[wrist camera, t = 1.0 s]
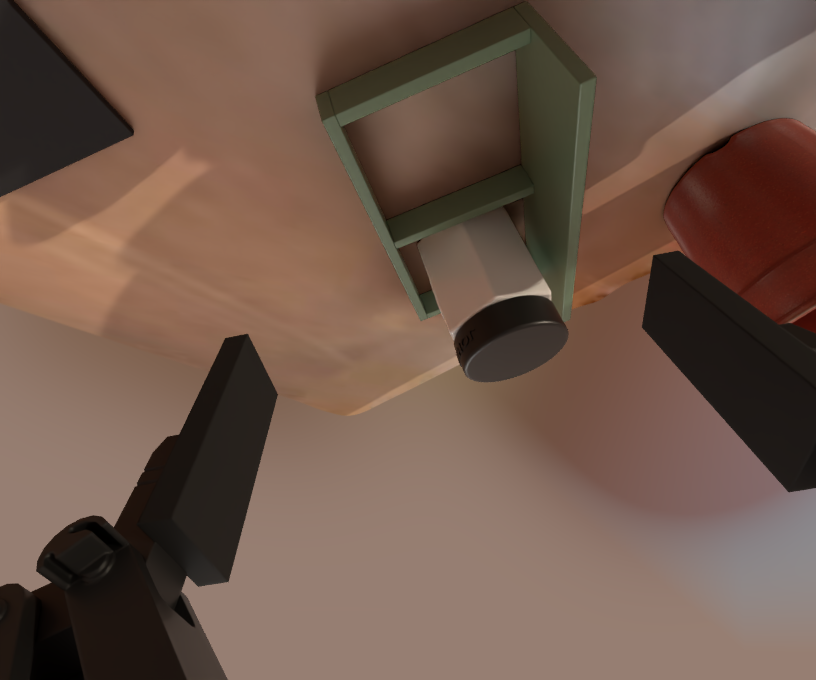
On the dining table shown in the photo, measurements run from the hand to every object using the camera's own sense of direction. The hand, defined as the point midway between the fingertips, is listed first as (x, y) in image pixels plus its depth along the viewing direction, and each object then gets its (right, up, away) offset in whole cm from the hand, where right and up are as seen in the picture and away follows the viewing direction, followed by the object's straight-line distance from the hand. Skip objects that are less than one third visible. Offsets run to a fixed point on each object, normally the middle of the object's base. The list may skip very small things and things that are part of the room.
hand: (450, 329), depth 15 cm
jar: (+4, +8, +24) cm, 26 cm away
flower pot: (+28, +15, +26) cm, 41 cm away
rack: (+2, +11, +19) cm, 22 cm away
